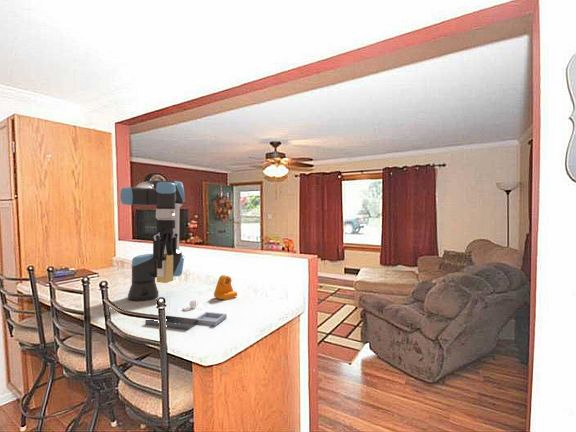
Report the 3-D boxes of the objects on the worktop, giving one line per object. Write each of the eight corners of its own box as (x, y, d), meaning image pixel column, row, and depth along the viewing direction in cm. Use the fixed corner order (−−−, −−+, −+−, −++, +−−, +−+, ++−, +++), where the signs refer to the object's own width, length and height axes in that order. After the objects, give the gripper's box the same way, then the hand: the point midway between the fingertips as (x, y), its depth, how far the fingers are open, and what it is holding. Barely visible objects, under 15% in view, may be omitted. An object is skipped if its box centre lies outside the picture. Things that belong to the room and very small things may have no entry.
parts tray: (194, 323, 127) (194, 319, 127) (206, 316, 137) (206, 311, 137) (215, 326, 125) (215, 321, 125) (226, 318, 134) (226, 314, 134)
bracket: (220, 301, 161) (220, 278, 161) (214, 297, 166) (214, 276, 166) (237, 297, 168) (238, 276, 168) (231, 294, 174) (231, 273, 173)
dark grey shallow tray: (145, 325, 125) (145, 319, 125) (156, 319, 131) (156, 314, 131) (188, 331, 120) (188, 324, 120) (197, 324, 126) (197, 318, 126)
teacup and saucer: (183, 313, 141) (183, 304, 141) (181, 308, 149) (181, 300, 149) (202, 311, 145) (202, 302, 145) (200, 306, 152) (200, 298, 152)
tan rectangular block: (156, 282, 125) (157, 255, 125) (163, 279, 129) (164, 253, 129) (166, 282, 124) (166, 255, 123) (173, 280, 128) (173, 254, 128)
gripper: (159, 219, 117) (158, 280, 117) (185, 219, 134) (185, 271, 134) (142, 219, 119) (142, 278, 119) (171, 218, 136) (170, 270, 136)
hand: (165, 274), depth 126 cm, fingers closed on tan rectangular block, 4 cm apart
